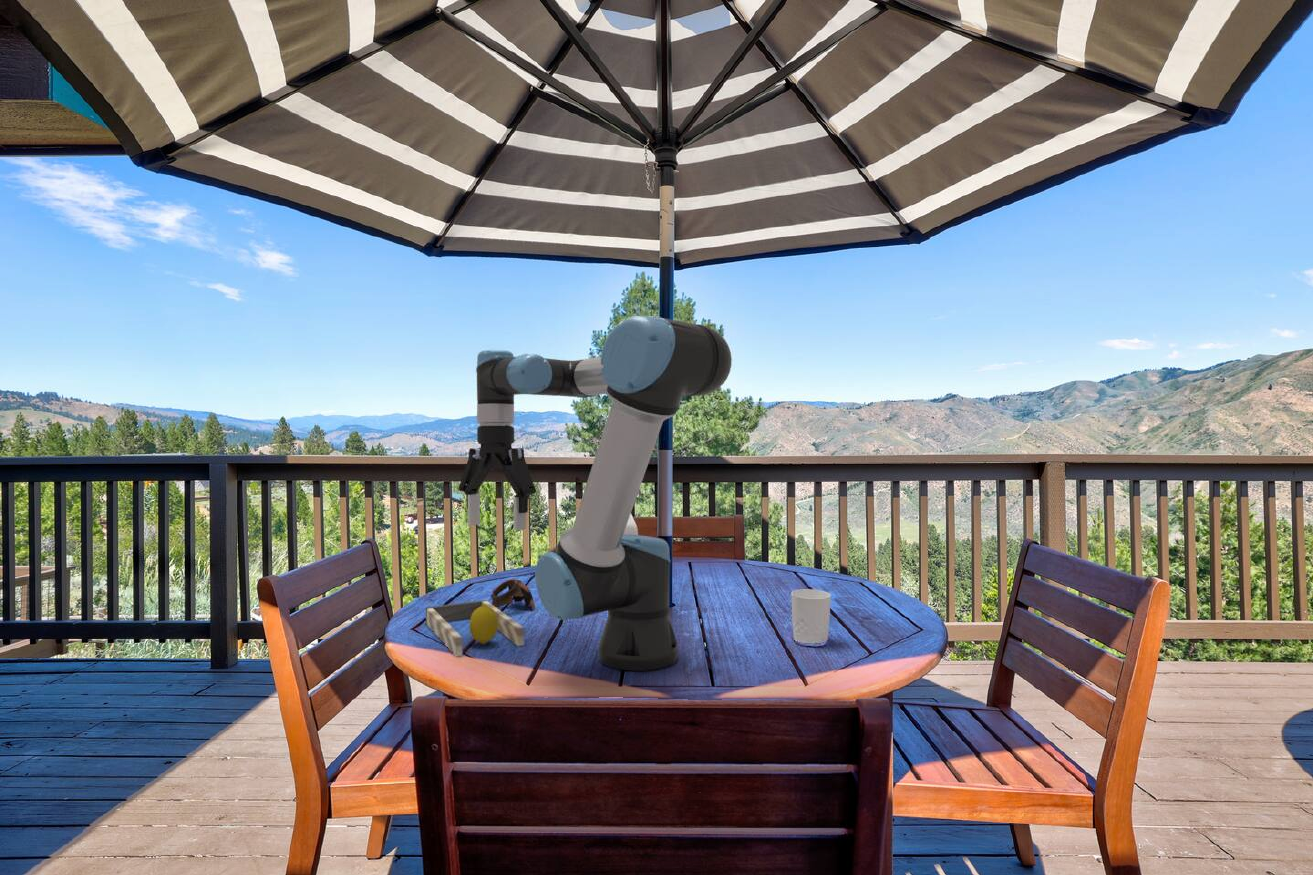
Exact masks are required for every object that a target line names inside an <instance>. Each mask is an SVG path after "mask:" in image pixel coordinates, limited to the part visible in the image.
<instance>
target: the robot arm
mask: <svg viewBox="0 0 1313 875" xmlns="http://www.w3.org/2000/svg"><path fill="white" fill-rule="evenodd" d="M476 360H477V361H476V369H475V372H476V395H477V396H476V401H477V404H476V423H477V424H479V426H477V428H476V432H477V433H476V437H477V438H476V440H477V444H479V445H480V448H478V447H475V448H474V447H472V448H469V450H468V459H467V462H466V465H465V468H464V470H463V471H464V472H463V474H462V477H461V480H460V483H459V486H458V490H459V491H460V492H463V493H464V494H465V495H466V498H465V499H466V500H465V501H466V505H465V506H466V509H467V526H469V527H471V526H479V525H480V524H481V494H480V492H479V490H480V488H481V486H482V485H483V483H484V481H485V480H486V479H487V476H488V475H489V473H490V472H491V471H493V470H494V471H500V472H501V473H503V475H504V476H505V479H506V480H507V482H508V484H509V485H510V486H511V488H512V490H513V491H514V493H515V495H514V497H513V530H514V531H519V530H526V529H527V513H528V511H529V496H531V495H533V494H536V492H537V489H536V486H535V483H534V481H533V478H532V476H531V473H530V470H529V468H528V464H527V462H526V459H525V451H524V448H522V447H516V448H515V447H512V444H514V443H515V427H514V426H512V424H514V423H515V395H533V396H550V397H551V396H553V397H555V396H558V397H559V396H560V397H570V398H572V397H573V398H579V399H586V398H595V397H596V396H597V395H607V397H608V398H609V400H610V402H611V407H610V409H609V413H608V416H607V420H606V423H605V425H604V428H603V430H602V431H603V432H602V434H601V438H600V441H599V443H598V447H597V450H596V453H595V455H594V459H593V462H592V466H591V468H590V472H589V475H588V478H587V482H586V485H585V487H584V492H583V494H582V498H581V499H580V500H581V501H580V502H579V503H580V504H579V506H578V509H577V512H576V515H575V519H574V522H573V525H572V527H569V528H567V529H565V530H564V531H562V533H560V536H559V540H558V542H557V546H556V549H555V551H547V552H545V553H544V554H542V555H540V557H539V558H538V560H537V562H536V565H535V571H534V578H535V586H536V590H537V593H538V594H537V595H538V597H539V599H540V601H541V602H540V603H542V606H543V607H544V609H545V610H546V611H547V613H548V614H549V615H550V616H551V617H554V619H556V620H561V621H568V620H575V619H576V620H578V619H581V618H583V617H587V616H591V615H592V616H593V615H597V614H600V613H604V612H607V618H606V622H605V625H604V627H603V631H602V634H601V636H600V641H599V644H598V647H597V648H598V649H597V650H598V652H597V653H598V655H597V657H598V660H599V662H601V663H602V664H604V665H606V666H607V667H610V668H614V669H618V670H624V671H634V672H635V671H636V672H638V671H653V670H658V669H663V668H666V667H669V666H671V665H673V664H674V663H676V662H677V660H678V659H679V645H678V641H677V638H676V635H675V631H674V628H673V626H672V623H671V622H672V621H671V618H670V587H671V585H670V582H671V579H670V578H671V562H672V561H671V559H670V546H669V544H668V542H667V541H666V540H665V539H663V538H660V537H653V536H647V535H642V534H641V535H640V534H638V535H631V534H624V531H625V528H626V525H627V522H628V520H629V517H630V514H631V515H632V510H633V508H634V505H635V502H636V499H637V496H638V493H639V490H640V489H641V485H642V482H643V479H644V476H645V474H646V471H647V468H648V465H649V463H650V460H651V457H652V454H653V452H654V449H655V445H656V442H657V440H658V437H659V434H660V431H661V429H662V426H663V422H665V421H666V420H668V419H670V418H672V417H674V416H675V415H676V414H677V413H678V409H679V406H680V403H681V400H682V398H683V397H700V396H701V397H702V396H705V395H706V396H707V395H709V394H711V393H714V392H716V391H717V390H718V389H720V388H721V387H722V386H723V385H724V384H725V381H727V379H728V378H729V375H730V373H731V368H732V361H733V360H732V352H731V349H730V347H729V344H728V343H727V340H726V339H725V338H724V337H723V336H722V335H721V334H720V333H719V331H716V330H715V329H713V328H711V327H709V326H707V325H704V324H703V325H701V324H697V323H696V324H695V323H689V322H685V321H679V320H674V319H670V318H666V317H665V318H663V317H660V316H657V315H649V316H647V315H632V316H629V317H627V318H625V319H624V320H621V321H620V322H619V323H617V324H616V325H615V326H614V327H613V329H611V331H610V332H609V334H608V335H607V338H606V339H605V342H604V344H603V346H602V350H601V354H600V356H597V357H591V358H589V357H588V358H584V359H578V360H565V359H557V358H556V359H554V358H545V357H543V356H541V355H540V354H537V353H535V354H534V353H532V354H531V353H530V354H528V353H524V354H520V355H517V356H514V354H513V352H511V351H509V350H506V349H485V350H481V351H480V352H478V354H477V359H476Z"/></svg>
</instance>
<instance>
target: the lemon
mask: <svg viewBox="0 0 1313 875" xmlns="http://www.w3.org/2000/svg"><path fill="white" fill-rule="evenodd" d="M497 629H498V618H497V615H496V612H495V611H494V610H493V609H492V608H491V607H488V606H486V605H482V606H481V607H479V608H477V609H476V610H475V611H474V612H473V613H472V615H471V619H470V620H469V633H470V635H471V637H472V639H473V640H475V641H477V642H479V643H480V644H481V645H486V644H487V643H488V642H490V641H491V640H492V639H494V638H495V636H496V634H497V632H498V630H497Z"/></svg>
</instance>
